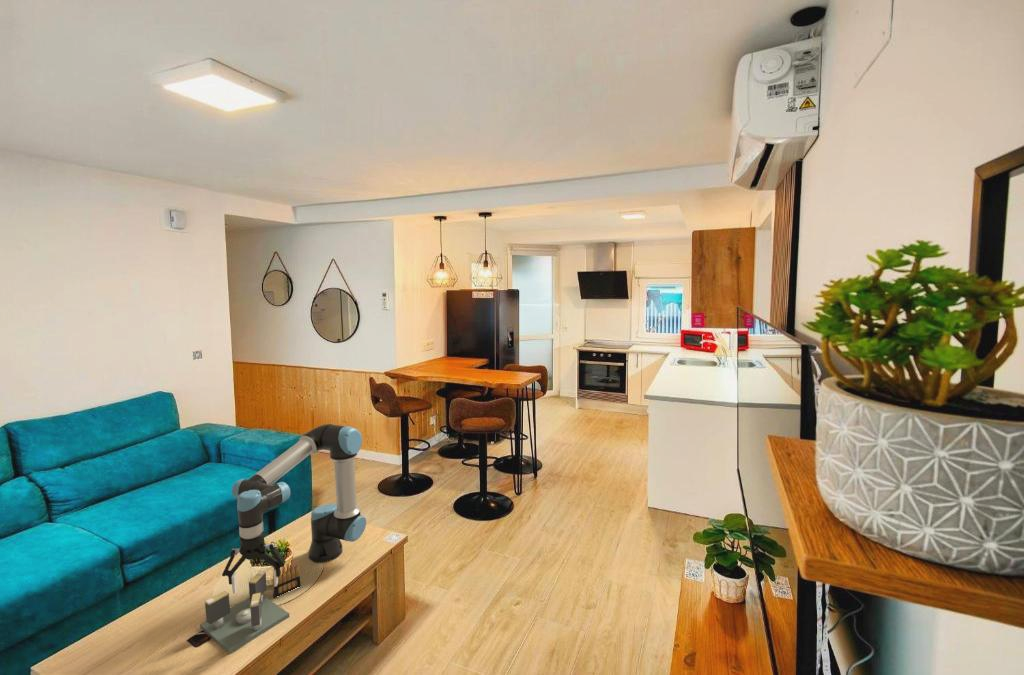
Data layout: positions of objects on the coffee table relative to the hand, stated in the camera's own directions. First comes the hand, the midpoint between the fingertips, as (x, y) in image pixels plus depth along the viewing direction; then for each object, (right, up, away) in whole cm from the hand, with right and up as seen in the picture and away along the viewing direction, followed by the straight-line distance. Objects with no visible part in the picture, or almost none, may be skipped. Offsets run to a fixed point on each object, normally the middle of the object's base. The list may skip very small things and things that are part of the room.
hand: (255, 587), depth 170 cm
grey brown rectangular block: (-7, -14, +14) cm, 21 cm away
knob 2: (0, -16, +1) cm, 16 cm away
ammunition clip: (0, -15, +24) cm, 28 cm away
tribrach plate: (-7, -17, +6) cm, 19 cm away
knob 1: (-15, -15, +2) cm, 22 cm away
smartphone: (-17, -18, +2) cm, 24 cm away
